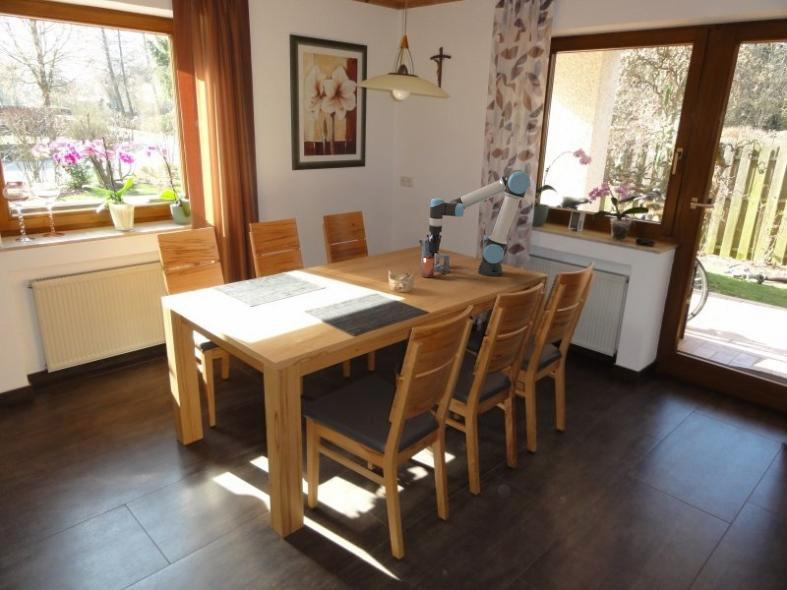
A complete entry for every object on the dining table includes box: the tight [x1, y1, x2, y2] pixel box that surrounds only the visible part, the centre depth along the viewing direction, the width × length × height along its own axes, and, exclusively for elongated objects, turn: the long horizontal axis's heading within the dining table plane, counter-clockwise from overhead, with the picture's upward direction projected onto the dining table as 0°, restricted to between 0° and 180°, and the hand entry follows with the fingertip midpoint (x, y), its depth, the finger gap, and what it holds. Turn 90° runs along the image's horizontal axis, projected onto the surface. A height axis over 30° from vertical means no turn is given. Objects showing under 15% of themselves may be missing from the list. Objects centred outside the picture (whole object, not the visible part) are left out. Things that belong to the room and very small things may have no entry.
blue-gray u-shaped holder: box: [434, 252, 451, 274], centre depth 340 cm, size 10×6×11 cm, turn 58°
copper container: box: [421, 255, 444, 278], centre depth 332 cm, size 7×21×12 cm, turn 148°
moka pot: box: [417, 234, 442, 267], centre depth 351 cm, size 10×15×20 cm, turn 115°
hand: (433, 263), depth 331 cm, fingers closed
